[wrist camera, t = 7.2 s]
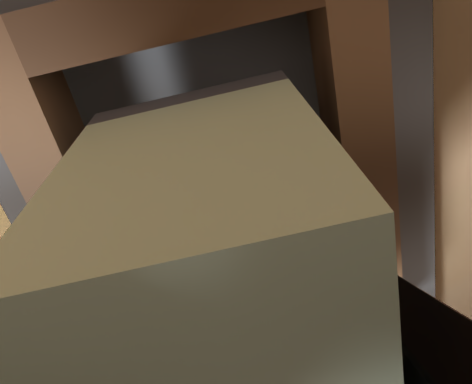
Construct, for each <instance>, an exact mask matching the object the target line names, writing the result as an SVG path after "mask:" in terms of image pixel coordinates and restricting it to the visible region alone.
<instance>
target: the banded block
mask: <svg viewBox="0 0 472 384" xmlns="http://www.w3.org/2000/svg"><path fill="white" fill-rule="evenodd" d="M0 384H404V376H403V359H402V342H401V325H400V307H399V290H398V273H397V256H396V238H395V221H394V211H393V210H392V209H391V208H390V206H389V205H388V204H387V202H386V201H385V200H384V199H383V197H382V196H381V195H380V194H379V192H378V191H377V190H376V189H375V187H374V186H373V185H372V184H371V182H370V181H369V180H368V178H367V177H366V176H365V175H364V173H363V172H362V171H361V170H360V168H359V167H358V166H357V165H356V163H355V162H354V161H353V160H352V158H351V157H350V156H349V154H348V153H347V152H346V151H345V149H344V148H343V147H342V146H341V144H340V143H339V142H338V141H337V139H336V138H335V137H334V136H333V134H332V133H331V132H330V131H329V129H328V128H327V127H326V125H325V124H324V123H323V122H322V120H321V119H320V118H319V117H318V115H317V114H316V113H315V112H314V110H313V109H312V108H311V107H310V105H309V104H308V103H307V101H306V100H305V99H304V98H303V96H302V95H301V94H300V93H299V91H298V90H297V89H296V88H295V86H294V85H293V84H292V83H291V81H290V80H289V79H288V77H287V76H286V75H285V74H284V72H283V71H282V70H280V71H275V72H271V73H267V74H262V75H258V76H254V77H250V78H245V79H241V80H237V81H233V82H228V83H224V84H220V85H216V86H211V87H207V88H203V89H199V90H194V91H190V92H186V93H181V94H177V95H173V96H169V97H164V98H160V99H156V100H152V101H147V102H143V103H139V104H135V105H130V106H126V107H122V108H118V109H113V110H109V111H105V112H100V113H96V114H95V115H94V116H93V118H92V119H91V120H90V122H89V123H88V124H87V126H86V127H85V128H84V130H83V131H82V132H81V133H80V135H79V136H78V137H77V139H76V140H75V141H74V143H73V144H72V145H71V147H70V148H69V149H68V151H67V152H66V153H65V155H64V156H63V157H62V158H61V160H60V161H59V162H58V164H57V165H56V166H55V168H54V169H53V170H52V172H51V173H50V174H49V176H48V177H47V178H46V180H45V181H44V182H43V183H42V185H41V186H40V187H39V189H38V190H37V191H36V193H35V194H34V195H33V197H32V198H31V199H30V201H29V202H28V203H27V205H26V206H25V207H24V208H23V210H22V211H21V212H20V214H19V215H18V216H17V218H16V219H15V220H14V222H13V223H12V224H11V226H10V227H9V228H8V230H7V231H6V232H5V233H4V235H3V236H2V237H1V239H0Z"/></svg>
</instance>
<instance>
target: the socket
mask: <svg viewBox="0 0 472 384" xmlns="http://www.w3.org/2000/svg"><path fill="white" fill-rule="evenodd" d="M280 70H282V71H283V72H284V74H285V75H286V76H287V77H288V79H289V80H290V81H291V83H292V84H293V85H294V86H295V88H296V89H297V90H298V91H299V93H300V94H301V95H302V96H303V98H304V99H305V100H306V101H307V103H308V104H309V105H310V107H311V108H312V109H313V110H314V112H315V113H316V114H317V115H318V117H319V118H320V119H321V120H322V122H323V123H324V124H325V125H326V127H327V128H328V129H329V131H330V132H331V133H332V134H333V136H334V137H335V138H336V139H337V141H338V142H339V143H340V144H341V146H342V147H343V148H344V149H345V151H346V152H347V153H348V154H349V156H350V157H351V158H352V160H353V161H354V162H355V163H356V165H357V166H358V167H359V168H360V170H361V171H362V172H363V173H364V175H365V176H366V177H367V178H368V180H369V181H370V182H371V184H372V185H373V186H374V187H375V189H376V190H377V191H378V192H379V194H380V195H381V196H382V197H383V199H384V200H385V201H386V202H387V204H388V205H389V206H390V208H391V209H392V210H393V211H394V221H395V238H396V256H397V273H398V276H400V277H402V278H403V279H405V280H407V281H408V282H410V283H412V284H413V285H415V286H417V287H418V288H420V289H421V290H423V291H425V292H426V293H428V294H430V295H431V296H433V297H435V210H434V95H433V0H0V204H1V206H2V208H3V209H4V211H5V213H6V215H7V217H8V219H9V221H10V222H11V224H12V223H13V222H14V220H15V219H16V218H17V216H18V215H19V214H20V212H21V211H22V210H23V208H24V207H25V206H26V205H27V203H28V202H29V201H30V199H31V198H32V197H33V195H34V194H35V193H36V191H37V190H38V189H39V187H40V186H41V185H42V183H43V182H44V181H45V180H46V178H47V177H48V176H49V174H50V173H51V172H52V170H53V169H54V168H55V166H56V165H57V164H58V162H59V161H60V160H61V158H62V157H63V156H64V155H65V153H66V152H67V151H68V149H69V148H70V147H71V145H72V144H73V143H74V141H75V140H76V139H77V137H78V136H79V135H80V133H81V132H82V131H83V130H84V128H85V127H86V126H87V124H88V123H89V122H90V120H91V119H92V118H93V116H94V115H95V114H96V113H100V112H105V111H109V110H113V109H118V108H122V107H126V106H130V105H135V104H139V103H143V102H147V101H152V100H156V99H160V98H164V97H169V96H173V95H177V94H181V93H186V92H190V91H194V90H199V89H203V88H207V87H211V86H216V85H220V84H224V83H228V82H233V81H237V80H241V79H245V78H250V77H254V76H258V75H262V74H267V73H271V72H275V71H280Z"/></svg>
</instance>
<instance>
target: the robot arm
mask: <svg viewBox="0 0 472 384" xmlns="http://www.w3.org/2000/svg"><path fill="white" fill-rule="evenodd" d="M398 290H399V307H400V325H401V342H402V359H403V376H404V384H472V320H471V319H469V318H468V317H466V316H464V315H463V314H461V313H459V312H458V311H456V310H455V309H453V308H451V307H450V306H448V305H446V304H445V303H443V302H441V301H440V300H438V299H436V298H435V297H433V296H431V295H430V294H428V293H426V292H425V291H423V290H421V289H420V288H418V287H417V286H415V285H413V284H412V283H410V282H408V281H407V280H405V279H403V278H402V277H400V276H398Z"/></svg>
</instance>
